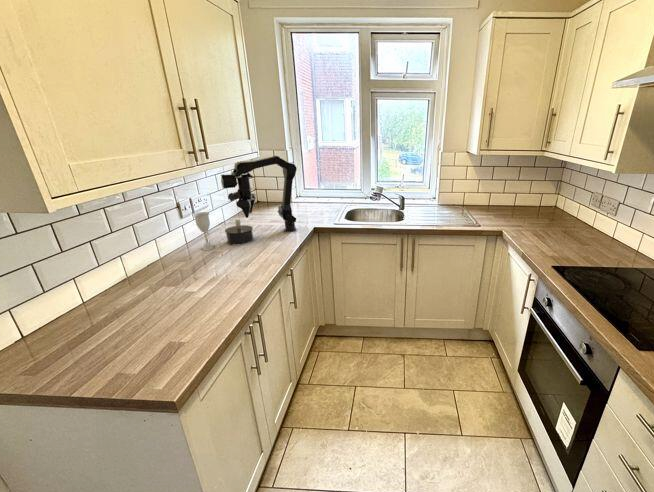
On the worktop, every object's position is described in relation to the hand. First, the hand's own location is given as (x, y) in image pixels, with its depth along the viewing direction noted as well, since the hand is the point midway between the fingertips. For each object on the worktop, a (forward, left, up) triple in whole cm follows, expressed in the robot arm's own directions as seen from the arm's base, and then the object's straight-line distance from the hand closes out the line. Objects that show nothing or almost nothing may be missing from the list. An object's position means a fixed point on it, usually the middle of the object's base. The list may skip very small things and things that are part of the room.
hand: (248, 215), depth 171 cm
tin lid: (+5, -5, -7) cm, 10 cm away
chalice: (+13, -19, -13) cm, 26 cm away
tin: (+5, -5, -13) cm, 15 cm away
